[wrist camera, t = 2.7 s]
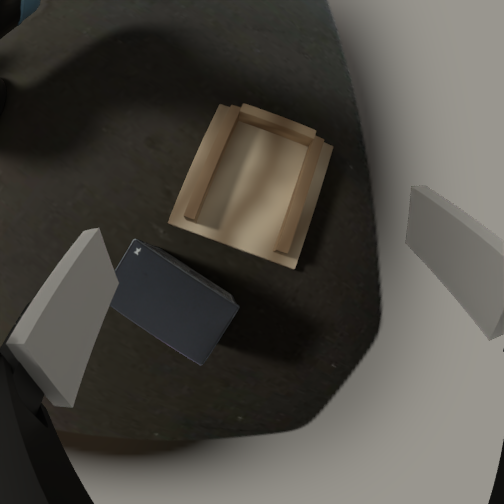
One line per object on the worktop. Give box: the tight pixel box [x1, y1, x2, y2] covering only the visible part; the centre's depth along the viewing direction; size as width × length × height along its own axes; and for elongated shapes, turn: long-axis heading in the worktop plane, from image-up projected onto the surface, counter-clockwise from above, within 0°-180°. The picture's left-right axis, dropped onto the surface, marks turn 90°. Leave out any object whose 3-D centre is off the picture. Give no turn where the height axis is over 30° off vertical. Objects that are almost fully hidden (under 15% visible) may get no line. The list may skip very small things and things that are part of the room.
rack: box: [168, 103, 333, 269], centre depth 35 cm, size 15×16×4 cm
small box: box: [110, 239, 239, 365], centre depth 30 cm, size 11×6×10 cm, turn 58°
